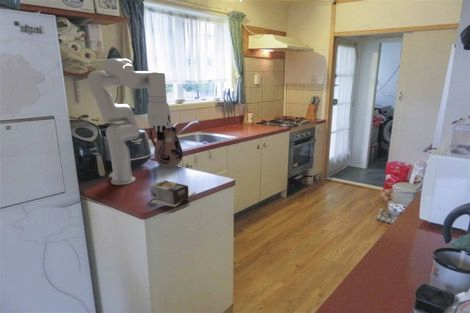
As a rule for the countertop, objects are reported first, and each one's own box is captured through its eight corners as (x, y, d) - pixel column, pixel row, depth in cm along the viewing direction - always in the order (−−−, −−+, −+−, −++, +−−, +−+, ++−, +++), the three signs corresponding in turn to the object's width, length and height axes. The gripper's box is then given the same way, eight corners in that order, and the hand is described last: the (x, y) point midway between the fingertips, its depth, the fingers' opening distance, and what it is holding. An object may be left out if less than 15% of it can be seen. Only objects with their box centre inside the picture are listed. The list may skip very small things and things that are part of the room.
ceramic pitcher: (178, 170, 196) (175, 129, 190) (145, 169, 199) (141, 129, 193) (187, 162, 213) (184, 124, 206) (156, 161, 216) (153, 124, 210)
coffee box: (164, 179, 157) (188, 185, 148) (165, 192, 158) (189, 198, 149) (149, 184, 150) (174, 191, 141) (150, 197, 151) (175, 205, 142)
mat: (150, 202, 147) (150, 201, 147) (173, 189, 163) (172, 188, 163) (175, 206, 142) (174, 205, 142) (195, 192, 158) (195, 191, 158)
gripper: (139, 100, 145) (143, 140, 150) (167, 101, 139) (169, 142, 144) (150, 98, 152) (153, 137, 156) (176, 99, 146) (179, 139, 151)
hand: (161, 139), depth 150 cm, fingers closed
